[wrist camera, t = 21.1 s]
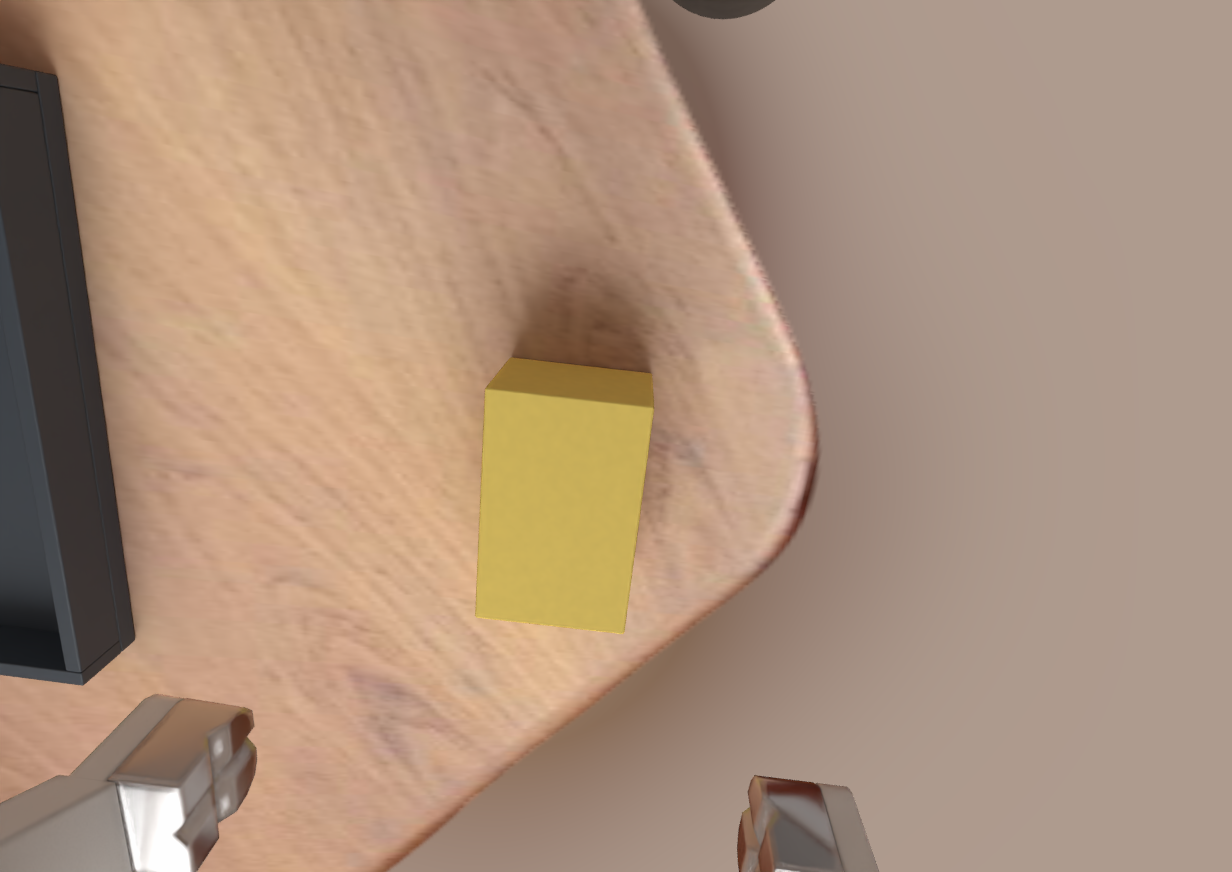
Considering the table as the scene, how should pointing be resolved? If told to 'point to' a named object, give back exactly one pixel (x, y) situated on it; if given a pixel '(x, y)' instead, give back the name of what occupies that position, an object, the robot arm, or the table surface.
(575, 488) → the sponge
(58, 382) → the tray
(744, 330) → the table surface
